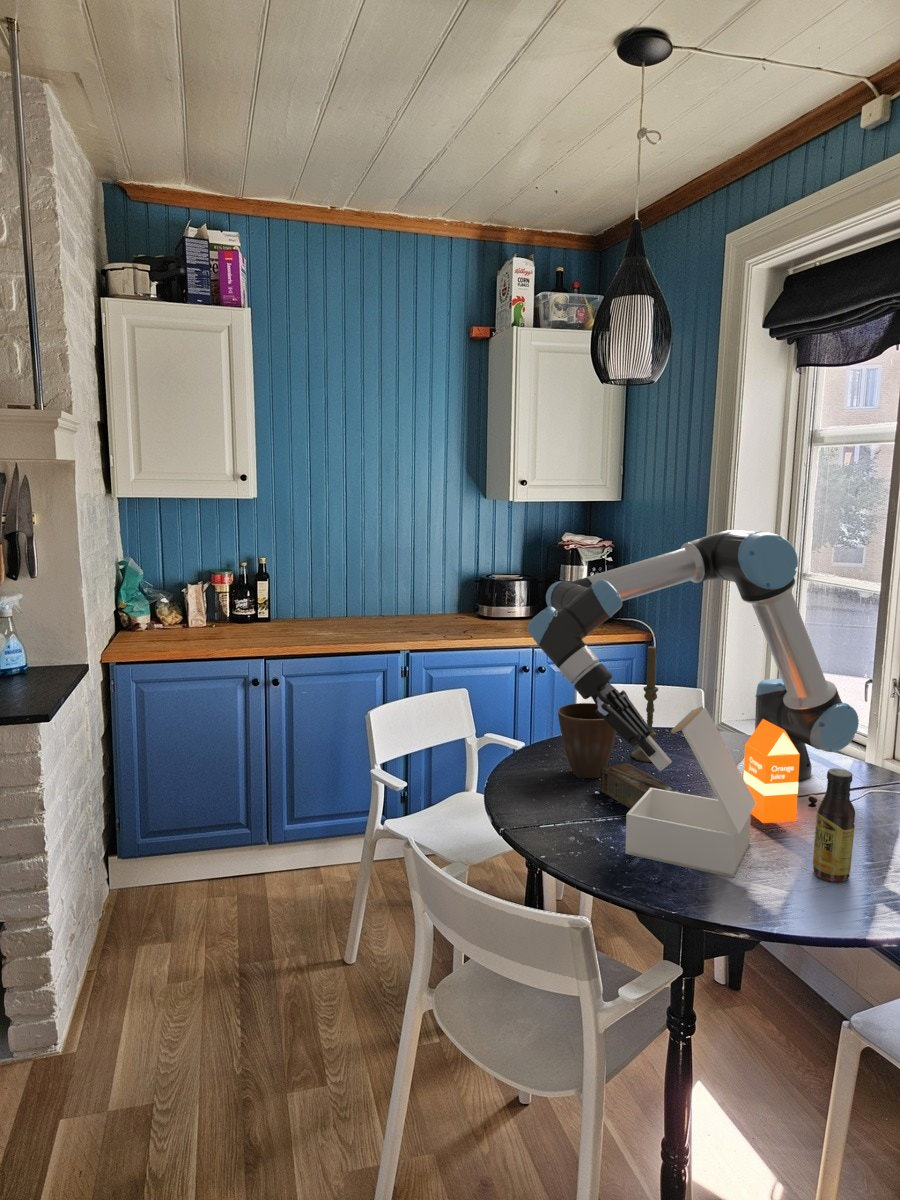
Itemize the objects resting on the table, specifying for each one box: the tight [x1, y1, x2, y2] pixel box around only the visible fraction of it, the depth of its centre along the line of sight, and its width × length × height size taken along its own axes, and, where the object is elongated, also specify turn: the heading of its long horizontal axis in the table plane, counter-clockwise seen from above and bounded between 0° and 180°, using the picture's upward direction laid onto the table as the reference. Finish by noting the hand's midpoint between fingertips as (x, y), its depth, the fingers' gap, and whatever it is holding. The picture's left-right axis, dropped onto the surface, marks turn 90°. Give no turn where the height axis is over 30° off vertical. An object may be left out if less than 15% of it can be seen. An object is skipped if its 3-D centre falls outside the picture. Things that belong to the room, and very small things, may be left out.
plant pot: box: [557, 702, 618, 780], centre depth 200 cm, size 15×15×16 cm
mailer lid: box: [670, 705, 756, 835], centre depth 155 cm, size 21×17×3 cm
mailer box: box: [624, 788, 752, 879], centre depth 159 cm, size 20×16×8 cm
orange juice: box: [742, 719, 800, 824], centre depth 175 cm, size 8×9×20 cm
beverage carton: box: [599, 762, 680, 810], centre depth 182 cm, size 8×19×7 cm, turn 24°
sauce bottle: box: [812, 767, 856, 883], centre depth 146 cm, size 7×6×20 cm
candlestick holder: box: [630, 643, 659, 763], centre depth 211 cm, size 9×9×30 cm
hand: (665, 766), depth 159 cm, fingers closed
